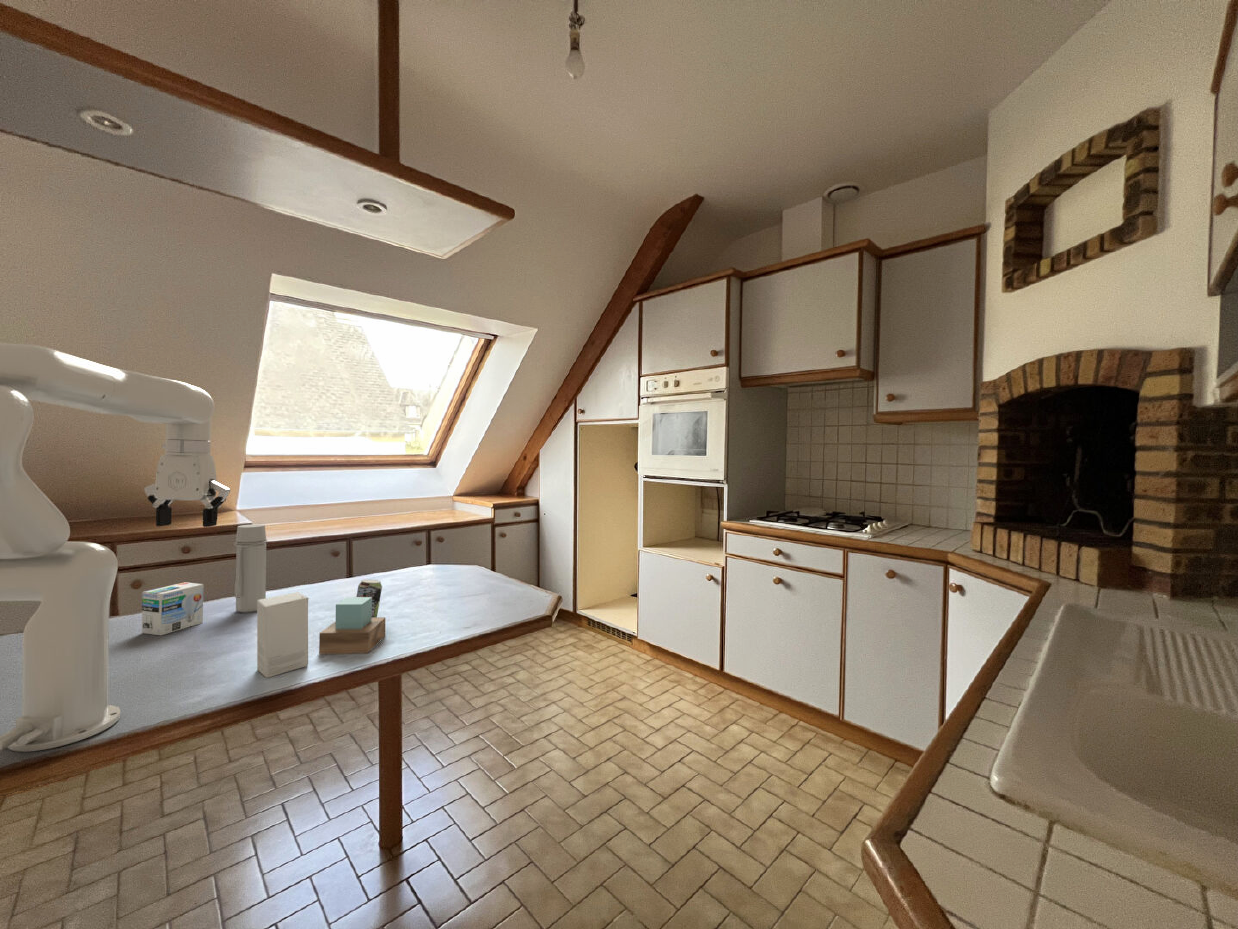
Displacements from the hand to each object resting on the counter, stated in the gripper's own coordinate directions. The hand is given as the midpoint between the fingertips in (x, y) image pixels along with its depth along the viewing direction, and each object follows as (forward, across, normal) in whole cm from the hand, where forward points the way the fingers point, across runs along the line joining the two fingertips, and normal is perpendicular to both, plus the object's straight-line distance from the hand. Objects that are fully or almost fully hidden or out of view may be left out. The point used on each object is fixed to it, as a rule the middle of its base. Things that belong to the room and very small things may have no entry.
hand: (186, 525), depth 109 cm
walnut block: (+30, +32, +10) cm, 45 cm away
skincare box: (+31, +23, -3) cm, 38 cm away
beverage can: (+30, +28, +26) cm, 49 cm away
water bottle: (+30, -10, +36) cm, 48 cm away
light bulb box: (+30, -20, +22) cm, 42 cm away
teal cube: (+25, +32, +10) cm, 42 cm away
